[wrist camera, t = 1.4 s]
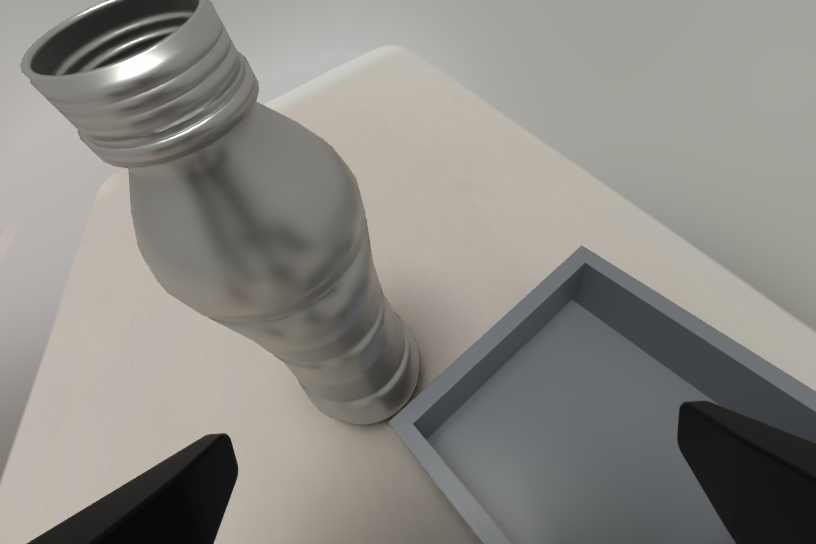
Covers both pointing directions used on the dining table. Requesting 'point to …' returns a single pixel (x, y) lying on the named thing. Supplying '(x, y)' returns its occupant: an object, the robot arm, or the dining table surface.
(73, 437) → the dining table surface
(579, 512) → the tote
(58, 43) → the plastic bottle
